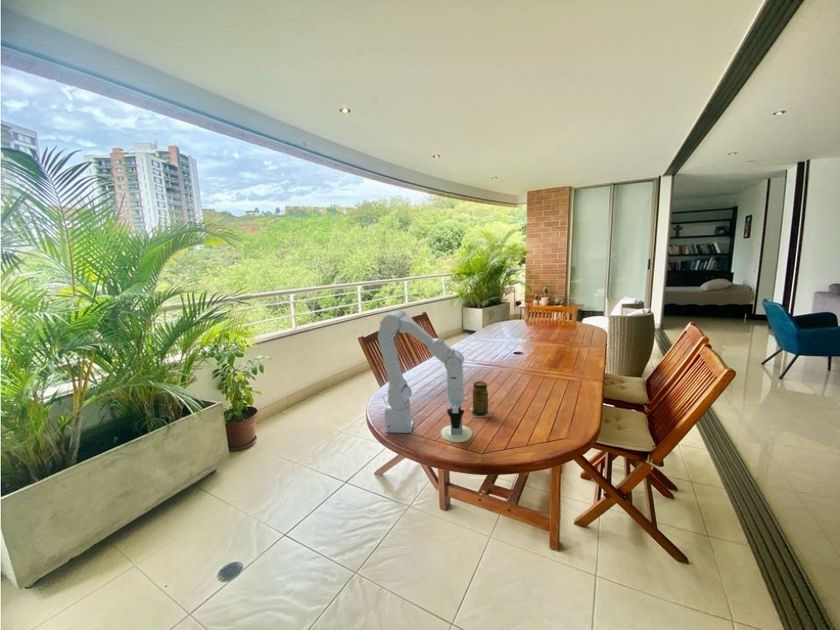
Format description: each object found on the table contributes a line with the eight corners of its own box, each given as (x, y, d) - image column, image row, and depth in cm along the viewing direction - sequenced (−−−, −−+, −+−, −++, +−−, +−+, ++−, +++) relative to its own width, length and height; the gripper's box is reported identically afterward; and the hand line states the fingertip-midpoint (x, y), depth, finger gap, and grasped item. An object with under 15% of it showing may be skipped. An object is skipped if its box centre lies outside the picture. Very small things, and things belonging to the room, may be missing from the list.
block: (451, 434, 120) (450, 419, 119) (451, 428, 124) (450, 413, 123) (462, 434, 119) (461, 419, 118) (462, 428, 123) (461, 413, 122)
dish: (440, 443, 117) (440, 440, 117) (442, 426, 128) (441, 423, 127) (472, 443, 116) (472, 440, 115) (471, 427, 126) (471, 424, 126)
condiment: (486, 406, 141) (486, 379, 139) (492, 416, 133) (492, 387, 130) (469, 408, 141) (468, 380, 138) (473, 418, 132) (473, 389, 130)
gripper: (467, 395, 111) (467, 433, 113) (466, 378, 125) (466, 412, 127) (445, 395, 111) (446, 433, 114) (447, 378, 126) (448, 412, 128)
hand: (456, 422), depth 121 cm, fingers open, 7 cm apart
